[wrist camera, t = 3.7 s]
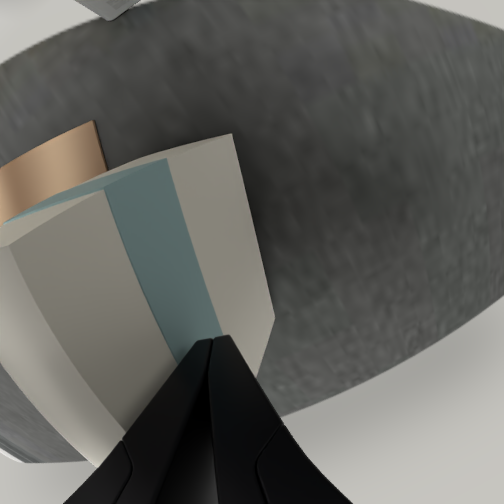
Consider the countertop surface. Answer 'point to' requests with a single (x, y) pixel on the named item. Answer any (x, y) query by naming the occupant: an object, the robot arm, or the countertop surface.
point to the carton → (129, 287)
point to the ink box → (108, 7)
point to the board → (50, 169)
